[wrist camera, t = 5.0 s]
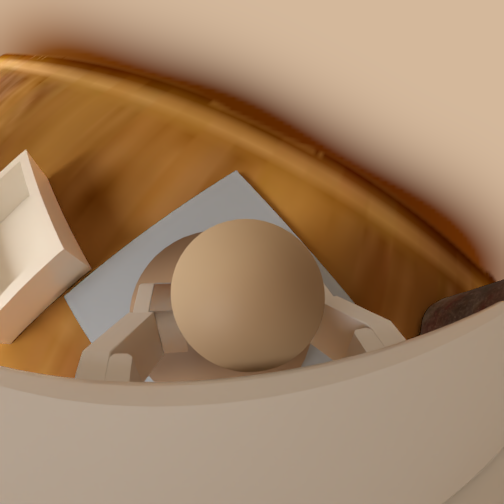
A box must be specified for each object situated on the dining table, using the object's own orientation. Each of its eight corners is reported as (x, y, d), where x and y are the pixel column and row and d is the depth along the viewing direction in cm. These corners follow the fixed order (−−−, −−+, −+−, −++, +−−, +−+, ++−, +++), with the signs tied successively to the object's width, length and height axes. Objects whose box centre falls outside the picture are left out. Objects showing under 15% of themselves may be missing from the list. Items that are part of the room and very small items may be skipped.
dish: (-23, 247, 13) (-51, 229, 9) (47, 178, 16) (26, 149, 12) (10, 344, 12) (-26, 340, 8) (91, 268, 15) (63, 248, 11)
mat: (67, 298, 14) (63, 296, 13) (235, 175, 18) (236, 170, 18) (211, 471, 12) (212, 476, 12) (368, 327, 17) (373, 327, 16)
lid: (102, 305, 14) (-13, 254, 4) (231, 206, 17) (263, 75, 8) (214, 438, 13) (235, 554, 3) (337, 326, 16) (469, 300, 6)
